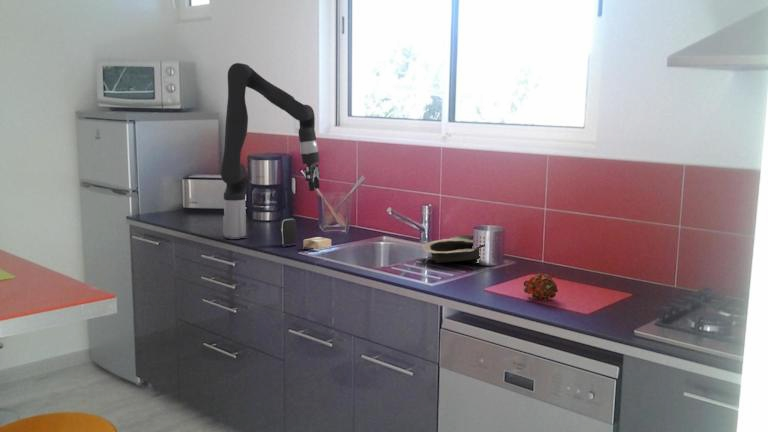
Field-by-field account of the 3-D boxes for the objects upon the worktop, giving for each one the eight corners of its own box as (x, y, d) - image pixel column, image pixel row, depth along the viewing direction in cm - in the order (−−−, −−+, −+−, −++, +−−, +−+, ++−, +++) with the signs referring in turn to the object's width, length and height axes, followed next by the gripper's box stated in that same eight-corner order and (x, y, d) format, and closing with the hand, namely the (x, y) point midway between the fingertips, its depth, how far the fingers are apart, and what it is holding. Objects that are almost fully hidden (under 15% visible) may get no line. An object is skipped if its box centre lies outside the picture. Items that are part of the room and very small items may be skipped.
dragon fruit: (555, 309, 215) (524, 306, 225) (568, 289, 219) (538, 286, 229) (542, 289, 212) (512, 286, 221) (556, 269, 216) (526, 267, 225)
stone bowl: (500, 260, 274) (500, 237, 272) (464, 277, 255) (463, 252, 253) (446, 250, 289) (446, 228, 287) (408, 265, 270) (408, 242, 268)
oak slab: (303, 249, 292) (303, 239, 292) (316, 246, 299) (316, 236, 298) (318, 251, 288) (318, 241, 287) (331, 248, 294) (331, 238, 293)
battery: (291, 244, 303) (291, 217, 301) (297, 245, 300) (296, 218, 299) (278, 246, 298) (277, 219, 296) (283, 247, 295) (283, 220, 294)
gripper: (305, 151, 312) (310, 188, 314) (296, 154, 298) (301, 192, 300) (322, 149, 311) (327, 186, 313) (313, 152, 297) (319, 190, 299)
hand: (314, 189), depth 307 cm, fingers open, 8 cm apart
